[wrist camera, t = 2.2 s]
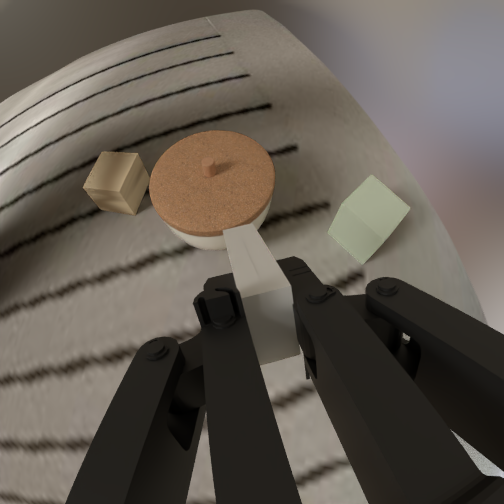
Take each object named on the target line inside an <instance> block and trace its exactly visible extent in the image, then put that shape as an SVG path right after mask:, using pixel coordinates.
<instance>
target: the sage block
mask: <svg viewBox="0 0 504 504" xmlns="http://www.w3.org/2000/svg"><path fill="white" fill-rule="evenodd" d="M410 209H411V208H410V207H409V206H408V205H407V204H406V203H404V202H403V201H402V200H401V199H400V198H399V197H398V196H397V195H395V194H394V193H393V192H392V191H391V190H390V189H389V188H387V187H386V186H385V185H384V184H383V183H382V182H380V181H379V180H378V179H377V178H376V177H374V176H373V175H372V174H371V175H370V176H369V177H368V178H367V179H366V180H365V181H364V182H363V183H362V184H361V185H360V186H359V187H358V188H357V189H356V190H355V191H354V192H353V193H352V194H351V195H350V196H349V197H348V198H347V199H346V200H345V201H344V202H343V203H342V204H341V206H340V208H339V210H338V212H337V214H336V216H335V218H334V220H333V222H332V224H331V226H330V228H329V230H328V232H327V233H328V234H329V235H330V236H331V237H333V238H334V239H335V240H336V241H337V242H338V243H339V244H340V245H341V246H342V247H343V248H345V249H346V250H347V251H348V252H349V253H350V254H351V255H352V256H353V257H354V258H355V259H356V260H357V261H358V262H360V263H361V264H362V265H363V264H364V263H365V262H366V261H367V260H368V259H369V258H370V257H371V256H372V255H373V254H374V252H375V251H376V250H377V249H378V248H379V247H380V246H381V245H382V244H383V243H384V242H385V241H386V239H387V238H388V237H389V236H390V234H391V233H392V232H393V231H394V229H395V228H396V227H397V226H398V224H399V223H400V222H401V220H402V219H403V218H404V217H405V215H406V214H407V213H408V211H409V210H410Z"/></svg>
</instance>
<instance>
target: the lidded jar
mask: <svg viewBox="0 0 504 504" xmlns="http://www.w3.org/2000/svg"><path fill="white" fill-rule="evenodd" d="M274 186H275V169H274V165H273V162H272V160H271V158H270V156H269V154H268V153H267V151H266V150H265V149H264V148H263V147H262V146H261V145H260V144H258V143H257V142H256V141H254V140H253V139H251V138H249V137H247V136H245V135H242V134H240V133H236V132H232V131H223V130H212V131H205V132H200V133H196V134H193V135H191V136H188V137H186V138H184V139H182V140H180V141H178V142H177V143H175V144H174V145H172V146H171V147H170V148H169V149H167V150H166V151H165V152H164V154H163V155H162V156H161V157H160V158H159V160H158V161H157V163H156V164H155V167H154V169H153V171H152V174H151V177H150V183H149V192H150V197H151V201H152V203H153V205H154V207H155V209H156V211H157V213H158V214H159V215H160V217H161V218H162V219H163V220H164V222H165V223H166V225H167V226H168V227H169V228H170V230H171V231H172V232H173V233H174V234H175V235H176V236H177V237H179V238H180V239H181V240H183V241H184V242H186V243H188V244H189V245H191V246H194V247H196V248H199V249H204V250H215V251H216V250H225V249H227V247H226V243H225V239H224V235H223V231H222V230H226V229H230V228H234V227H238V226H243V225H247V224H251V223H253V225H254V226H255V228H256V230H258V229H259V228H260V226H261V224H262V223H263V221H264V220H265V218H266V215H267V213H268V210H269V208H270V204H271V199H272V195H273V191H274Z"/></svg>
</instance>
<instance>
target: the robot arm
mask: <svg viewBox="0 0 504 504" xmlns="http://www.w3.org/2000/svg"><path fill="white" fill-rule="evenodd" d="M222 231H223V235H224V239H225V243H226V247H227V251H228V255H229V260H230V264H231V268H232V272H233V273H229V274H224V275H220V276H216V277H212V278H208V280H207V281H206V283H205V284H204V291H203V292H201V293H199V294H198V295H197V296H196V297H195V299H194V302H193V305H194V308H195V310H196V313H197V316H198V319H199V322H200V325H201V332H200V333H199V334H198V335H196V336H195V337H193V338H192V339H190V340H188V341H185V342H183V343H181V344H178V342H177V340H175V339H173V338H171V337H159V338H155V339H152V340H150V341H148V342H146V343H145V344H144V345H142V346H141V347H140V349H139V350H138V351H137V353H136V355H135V357H134V358H133V360H132V362H131V364H130V366H129V368H128V370H127V372H126V374H125V376H124V378H123V380H122V382H121V383H120V385H119V387H118V389H117V391H116V393H115V395H114V397H113V399H112V401H111V403H110V405H109V407H108V409H107V412H106V414H105V416H104V418H103V420H102V422H101V424H100V426H99V428H98V430H97V432H96V435H95V437H94V439H93V441H92V443H91V445H90V447H89V450H88V452H87V454H86V456H85V458H84V461H83V463H82V465H81V468H80V470H79V472H78V474H77V477H76V479H75V481H74V484H73V486H72V489H71V491H70V493H69V496H68V498H67V501H66V503H65V504H186V500H187V495H188V490H189V486H190V481H191V476H192V472H193V467H194V463H195V458H196V453H197V449H198V444H199V440H200V435H201V431H202V426H203V422H204V417H205V413H207V424H208V435H209V445H210V455H211V464H212V473H213V481H214V489H215V496H216V504H302V502H301V499H300V496H299V493H298V490H297V487H296V483H295V480H294V477H293V474H292V471H291V468H290V465H289V461H288V458H287V455H286V452H285V449H284V445H283V442H282V439H281V436H280V432H279V429H278V426H277V422H276V419H275V416H274V412H273V409H272V406H271V402H270V399H269V396H268V392H267V389H266V385H265V382H264V378H263V375H262V372H261V368H260V365H263V364H267V363H271V362H275V361H278V360H282V359H285V358H289V357H292V356H296V355H299V354H300V347H301V349H302V351H303V354H304V362H305V371H306V379H310V377H311V379H312V381H313V383H314V385H315V387H316V390H317V392H318V394H319V396H320V398H321V400H322V403H323V405H324V407H325V409H326V411H327V414H328V416H329V418H330V420H331V422H332V424H333V427H334V429H335V431H336V433H337V435H338V438H339V440H340V442H341V444H342V446H343V448H344V451H345V453H346V455H347V457H348V459H349V462H350V464H351V466H352V468H353V470H354V472H355V475H356V477H357V479H358V481H359V483H360V486H361V488H362V490H363V492H364V494H365V496H366V499H367V501H368V503H369V504H504V478H502V477H500V476H486V475H485V474H483V473H482V472H481V471H480V470H479V469H478V468H477V466H476V465H475V463H474V462H473V461H472V459H471V458H470V456H469V455H468V453H467V452H466V451H465V449H464V448H463V446H462V445H461V444H460V442H459V441H458V439H457V438H456V437H455V435H454V434H453V433H452V431H453V432H455V433H456V434H457V435H458V436H460V437H461V438H462V439H463V440H465V441H466V442H467V443H468V444H470V445H471V446H472V447H473V448H475V449H476V450H477V451H478V452H480V453H481V454H482V455H483V456H485V457H486V458H487V459H489V460H490V461H491V462H492V463H494V464H495V465H496V466H497V467H499V468H500V469H501V470H502V471H504V335H503V334H502V333H500V332H498V331H496V330H494V329H493V328H491V327H489V326H487V325H486V324H484V323H482V322H480V321H478V320H476V319H475V318H473V317H471V316H469V315H467V314H465V313H463V312H462V311H460V310H458V309H456V308H454V307H452V306H450V305H448V304H447V303H445V302H443V301H441V300H439V299H437V298H435V297H433V296H431V295H429V294H427V293H425V292H423V291H421V290H419V289H417V288H416V287H414V286H412V285H410V284H408V283H406V282H404V281H402V280H399V279H396V278H390V277H382V278H378V279H375V280H372V281H371V282H370V283H368V284H367V286H366V294H362V295H352V296H343V295H342V294H341V293H340V291H339V290H338V289H336V288H335V287H333V286H329V285H323V284H322V283H321V281H320V280H319V279H318V278H317V277H316V275H315V274H314V273H313V272H312V271H311V269H310V268H309V267H308V266H307V264H306V263H305V262H304V261H303V260H302V259H299V258H297V257H295V256H293V257H289V258H285V259H281V260H277V261H276V260H275V259H274V257H273V255H272V254H271V252H270V251H269V249H268V247H267V246H266V244H265V242H264V241H263V239H262V238H261V236H260V234H259V233H258V231H257V230H256V228H255V226H254V225H253V223H251V224H247V225H243V226H238V227H234V228H230V229H226V230H222ZM403 333H405V334H407V335H408V336H410V341H408V340H405V339H404V338H402V337H403ZM299 344H300V347H299ZM309 374H310V375H309ZM449 428H450V429H451V430H452V431H451V430H450V429H449Z"/></svg>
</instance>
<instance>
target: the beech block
mask: <svg viewBox="0 0 504 504" xmlns="http://www.w3.org/2000/svg"><path fill="white" fill-rule="evenodd" d="M149 182H150V177H149V175H148V173H147V171H146V169H145V167H144V165H143V163H142V161H141V158H140V156H139V154H138V153H126V152H104V151H102V152H101V154H100V156H99V158H98V159H97V161H96V163H95V165H94V167H93V168H92V170H91V172H90V174H89V176H88V178H87V180H86V182H85V184H84V186H83V189H84V190H85V191H86V192H87V194H88V195H89V196H90V197H91V198H92V200H93V201H94V202H95V203H96V205H97V206H98V207H99V208H100V209H101V210H105V211H111V212H117V213H123V214H129V215H136V213H137V210H138V208H139V205H140V203H141V200H142V198H143V196H144V193H145V191H146V189H147V186H148V184H149Z"/></svg>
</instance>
